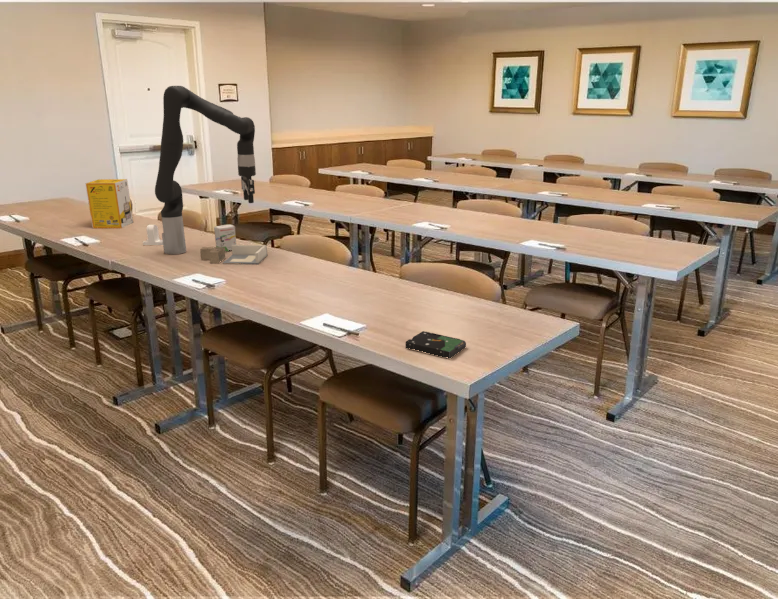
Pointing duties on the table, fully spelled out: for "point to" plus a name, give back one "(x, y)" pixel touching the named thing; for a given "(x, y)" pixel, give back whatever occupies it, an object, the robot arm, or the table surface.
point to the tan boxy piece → (213, 254)
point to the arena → (247, 254)
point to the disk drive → (436, 344)
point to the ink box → (225, 236)
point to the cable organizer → (153, 236)
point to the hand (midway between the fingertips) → (248, 201)
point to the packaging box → (109, 203)
